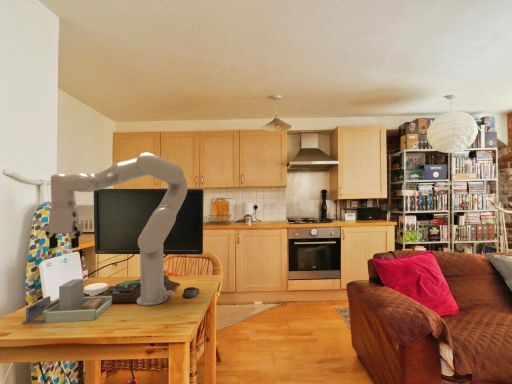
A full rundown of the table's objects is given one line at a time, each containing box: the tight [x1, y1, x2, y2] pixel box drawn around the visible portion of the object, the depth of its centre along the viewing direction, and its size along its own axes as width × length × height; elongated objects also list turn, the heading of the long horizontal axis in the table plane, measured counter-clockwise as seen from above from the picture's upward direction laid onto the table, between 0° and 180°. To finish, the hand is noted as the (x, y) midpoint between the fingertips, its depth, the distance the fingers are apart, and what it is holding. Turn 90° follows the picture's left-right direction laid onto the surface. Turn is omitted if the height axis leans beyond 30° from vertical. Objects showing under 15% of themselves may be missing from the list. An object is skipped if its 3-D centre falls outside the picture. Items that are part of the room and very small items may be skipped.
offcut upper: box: [81, 299, 102, 310], centre depth 109 cm, size 4×7×2 cm, turn 6°
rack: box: [42, 295, 113, 324], centre depth 109 cm, size 18×15×4 cm
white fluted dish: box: [83, 282, 109, 297], centre depth 132 cm, size 10×10×4 cm
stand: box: [21, 295, 59, 325], centre depth 108 cm, size 7×16×5 cm, turn 5°
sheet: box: [58, 278, 84, 311], centre depth 108 cm, size 4×9×12 cm, turn 5°
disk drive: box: [109, 280, 140, 294], centre depth 135 cm, size 10×3×15 cm
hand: (64, 247), depth 111 cm, fingers open, 9 cm apart
